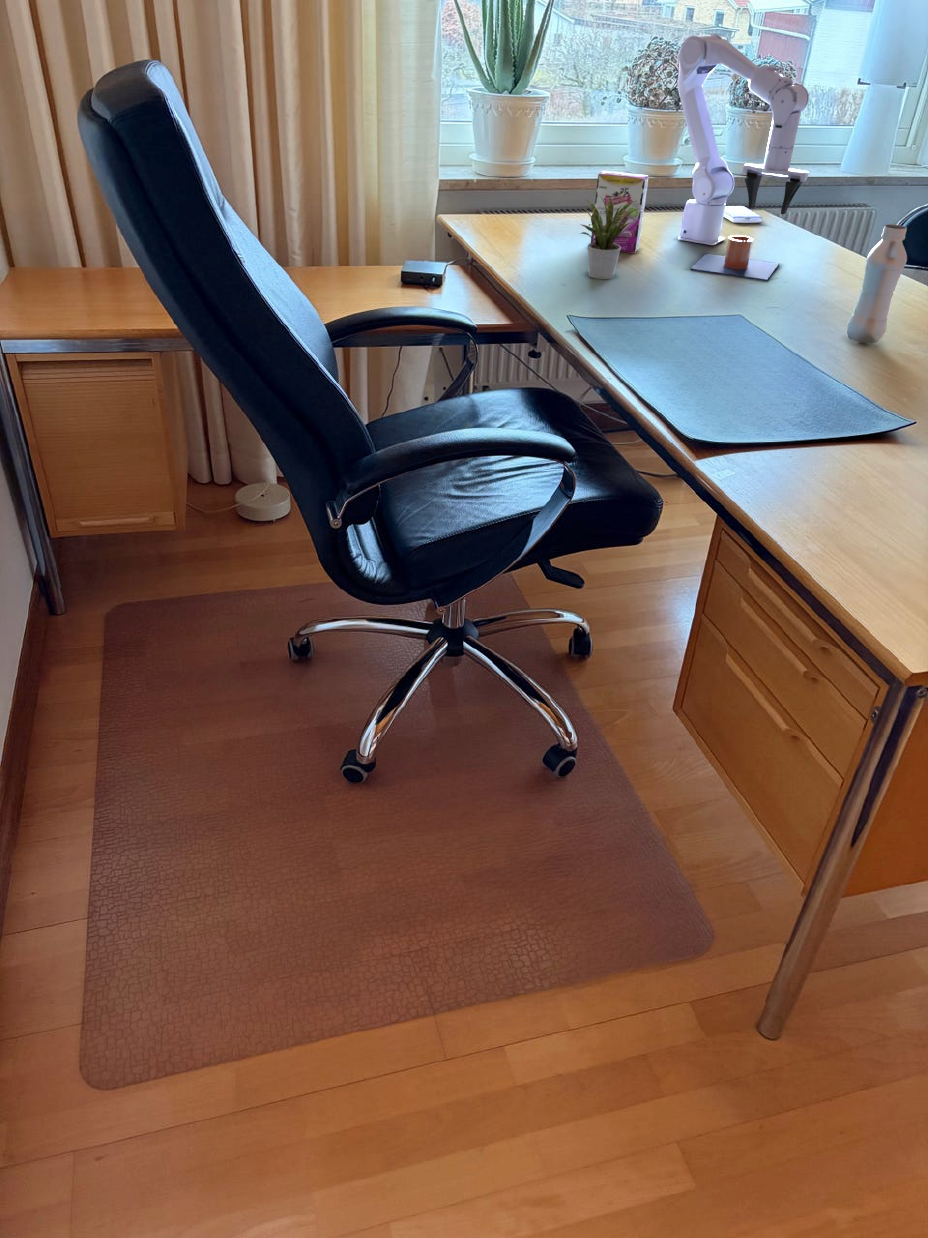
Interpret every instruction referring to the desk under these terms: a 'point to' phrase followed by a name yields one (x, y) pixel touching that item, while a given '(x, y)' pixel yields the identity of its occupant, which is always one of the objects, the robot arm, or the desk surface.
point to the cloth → (753, 271)
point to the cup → (738, 252)
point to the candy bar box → (620, 193)
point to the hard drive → (741, 215)
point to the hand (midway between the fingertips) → (767, 210)
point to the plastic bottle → (878, 286)
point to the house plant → (605, 240)
